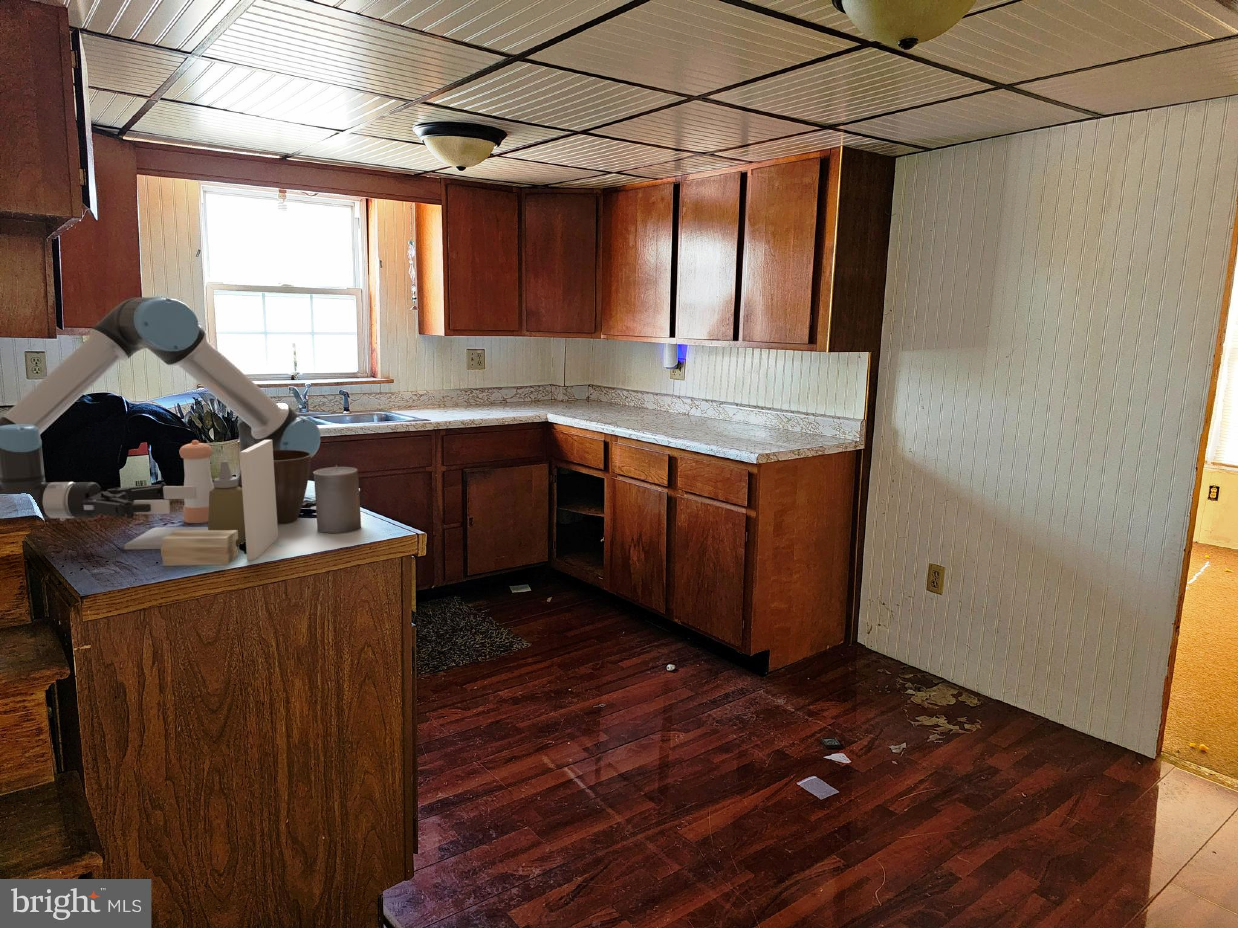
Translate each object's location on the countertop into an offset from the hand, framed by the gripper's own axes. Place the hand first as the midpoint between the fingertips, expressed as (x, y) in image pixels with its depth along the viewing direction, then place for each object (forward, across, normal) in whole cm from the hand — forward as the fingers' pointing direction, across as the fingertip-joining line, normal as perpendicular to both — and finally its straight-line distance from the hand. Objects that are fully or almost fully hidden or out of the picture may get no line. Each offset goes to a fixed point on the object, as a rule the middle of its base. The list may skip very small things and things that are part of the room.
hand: (183, 499), depth 172 cm
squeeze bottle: (+9, 0, -10) cm, 13 cm away
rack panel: (+17, +4, -10) cm, 20 cm away
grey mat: (-4, -4, -10) cm, 12 cm away
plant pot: (+14, -20, -10) cm, 26 cm away
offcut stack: (+7, +12, -10) cm, 17 cm away
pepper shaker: (-5, -22, -10) cm, 25 cm away
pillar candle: (+29, -12, -10) cm, 33 cm away
